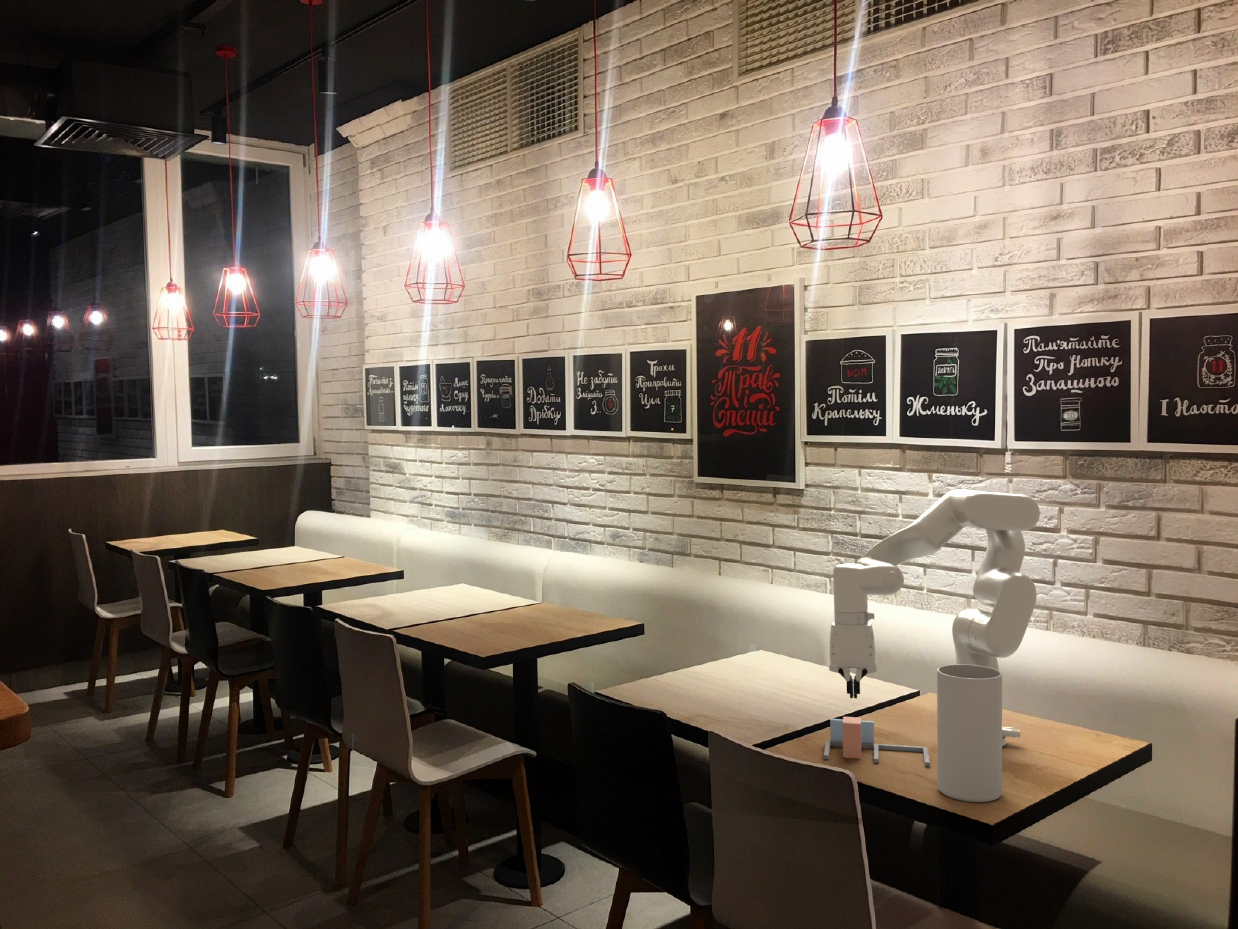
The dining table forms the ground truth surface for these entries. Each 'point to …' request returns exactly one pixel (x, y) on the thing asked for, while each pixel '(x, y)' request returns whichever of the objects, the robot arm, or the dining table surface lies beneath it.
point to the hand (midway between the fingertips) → (853, 696)
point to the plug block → (852, 737)
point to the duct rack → (867, 741)
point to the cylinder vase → (969, 732)
